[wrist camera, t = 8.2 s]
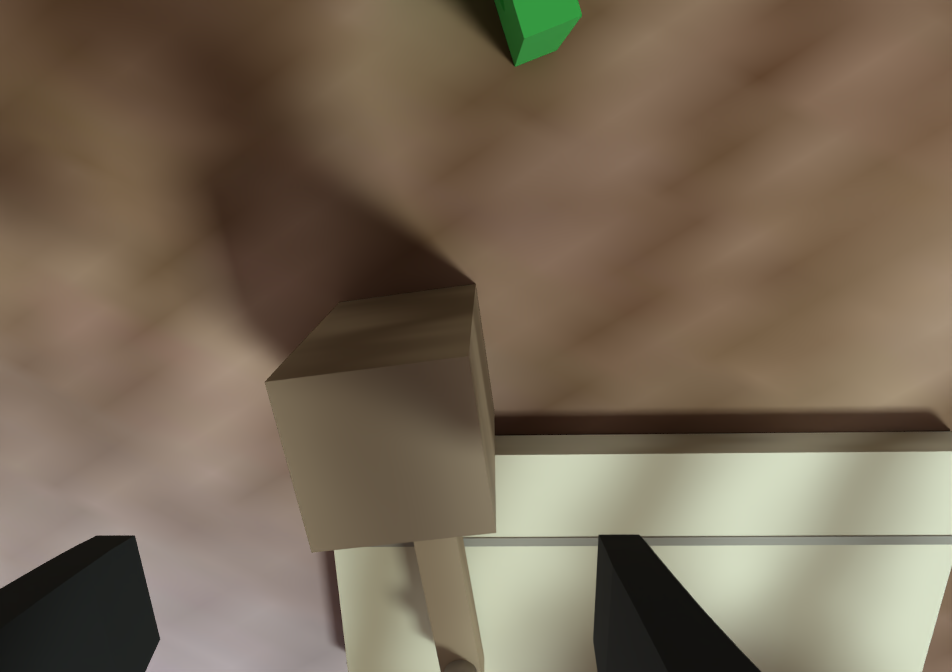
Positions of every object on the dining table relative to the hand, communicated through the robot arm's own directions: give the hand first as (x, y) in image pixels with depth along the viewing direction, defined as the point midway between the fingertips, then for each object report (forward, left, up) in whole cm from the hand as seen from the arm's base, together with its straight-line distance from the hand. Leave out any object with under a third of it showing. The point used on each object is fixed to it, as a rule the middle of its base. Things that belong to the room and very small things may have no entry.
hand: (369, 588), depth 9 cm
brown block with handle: (0, +3, -9) cm, 10 cm away
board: (-6, +7, -9) cm, 13 cm away
